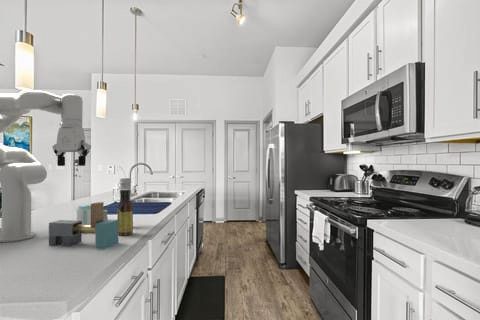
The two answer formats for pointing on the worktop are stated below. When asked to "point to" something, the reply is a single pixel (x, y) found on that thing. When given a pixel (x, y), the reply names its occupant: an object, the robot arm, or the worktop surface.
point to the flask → (105, 215)
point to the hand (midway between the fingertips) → (71, 165)
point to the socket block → (106, 234)
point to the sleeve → (63, 233)
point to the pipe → (124, 182)
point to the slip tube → (95, 218)
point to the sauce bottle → (125, 213)
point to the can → (84, 214)
